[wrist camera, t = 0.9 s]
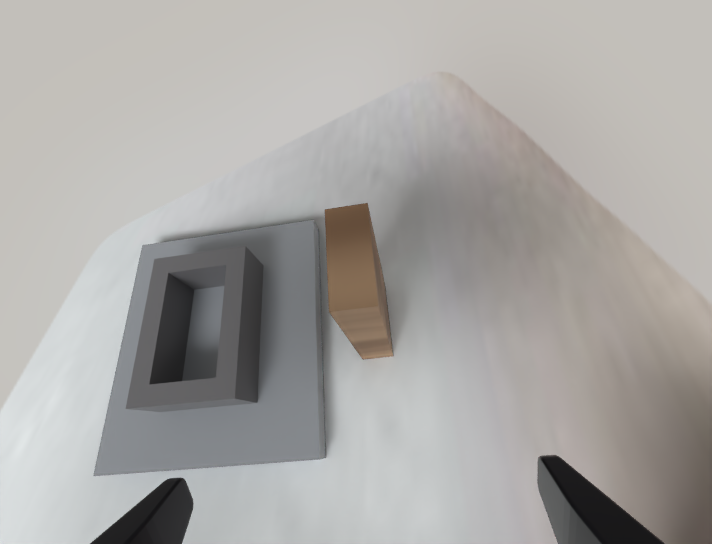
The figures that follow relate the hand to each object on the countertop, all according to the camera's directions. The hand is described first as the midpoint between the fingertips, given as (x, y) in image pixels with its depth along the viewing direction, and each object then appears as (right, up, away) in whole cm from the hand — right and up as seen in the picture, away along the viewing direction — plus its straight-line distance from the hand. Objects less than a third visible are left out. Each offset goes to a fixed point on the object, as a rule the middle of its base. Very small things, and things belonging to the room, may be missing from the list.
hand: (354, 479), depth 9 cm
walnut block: (+1, +2, +15) cm, 15 cm away
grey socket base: (-9, 0, +16) cm, 19 cm away
